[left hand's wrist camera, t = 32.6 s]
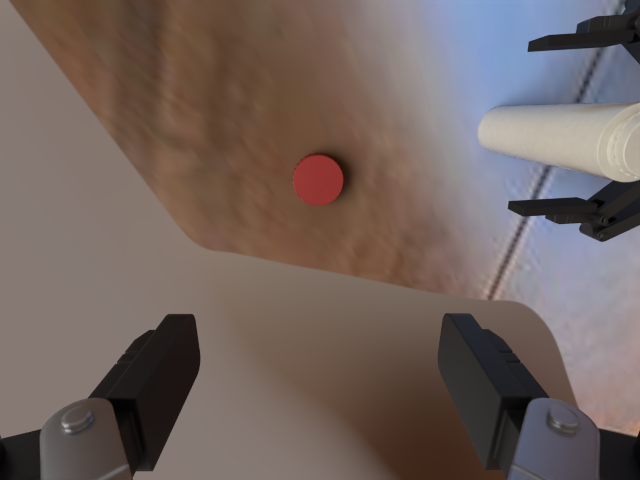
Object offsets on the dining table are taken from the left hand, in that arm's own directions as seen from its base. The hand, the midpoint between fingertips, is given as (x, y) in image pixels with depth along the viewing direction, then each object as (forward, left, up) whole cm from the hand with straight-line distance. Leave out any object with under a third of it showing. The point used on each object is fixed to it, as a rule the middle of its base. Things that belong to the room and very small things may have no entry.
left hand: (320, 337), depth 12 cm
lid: (0, 0, -28) cm, 28 cm away
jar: (-15, +12, -29) cm, 35 cm away
